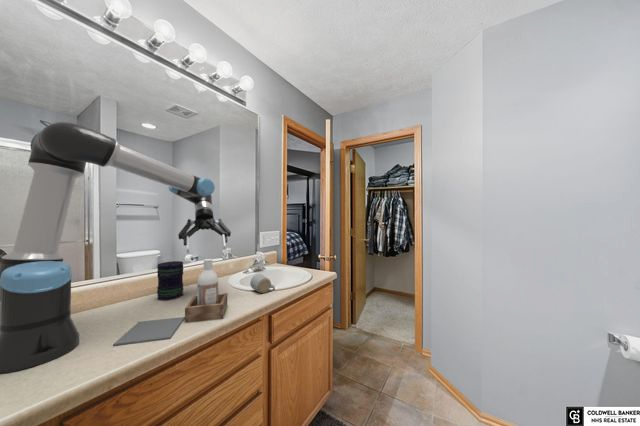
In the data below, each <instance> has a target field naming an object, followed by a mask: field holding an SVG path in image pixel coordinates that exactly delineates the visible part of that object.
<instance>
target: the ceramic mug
mask: <svg viewBox="0 0 640 426" xmlns="http://www.w3.org/2000/svg"><path fill="white" fill-rule="evenodd" d="M249 285H250V287H251V288H252V290H254V289H255V290H254V291H256V292H258V293H260V294H265V293H267V292H268V291H270V289H269V288H273V289H272V290H274V289H275V287H276V286H275V285H273V284H272V283H271V280H270V279H269V278H268V277H267V276H265V275H263V274H261V273H257V274H255V275H253V276H252V278H251V279H250V284H249Z"/></svg>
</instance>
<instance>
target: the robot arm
mask: <svg viewBox="0 0 640 426" xmlns="http://www.w3.org/2000/svg"><path fill="white" fill-rule="evenodd" d="M30 151H31V152H30V155H29V158H28V163H27V165H28V166H29V167H30V168H31V169H32V170H33V176H32V179H31V183H30V186H29V189H28V194H27V197H26V201H25V204H24V209H23V213H22V217H21V220H20V224H19V227H18V231H17V234H16V238H15V241H14V245H13V249H12V251H11V252H9V253H7V254H5V255H3V256H2V257H1V260H0V374H4V373H12V372H16V371H20V370H21V371H22V370H25V369H28V368H32V367H34V366H35V367H36V366H39V365H43V364H45V363H47V362H49V361H52V360H55V359H57V358H60V357H61V356H64V355H66V354H68V353H70V352H71V351H72V350H74V349H75V348H76V347H78V346H79V344H80V333H79V331H78V330H77V327H76V324H75V322H74V321H73V319H72V316H71V314H72V313H71V312H72V309H71V308H72V307H71V306H72V303H71V300H72V277H73V272H72V267H71V266H70V263H67V262H64V256H63V255H61V253H59V249H60V245H61V241H62V236H63V232H64V228H65V223H66V218H67V216H68V211H69V207H70V202H71V200H72V199H71V198H72V195H73V191H74V187H75V182H76V179H78V178H81V177H83V176H84V173H85V171H86V170H85V169H86V165H87V164H92V165H97V166H100V167H103V168H105V167H113V168H115V169H118V170H121V171H124V172H126V173H129V174H133V175H136V176H139V177H142V178H144V179H148V180H150V181H154V182H155V183H156V182H157V183H160V184H162V185H165V186H168V190H169V192H171V193H173V194H174V195H175V196H178V197H180V198H182V199H184V200H186V201H188V202H190V203H192V204H193V205H194V213H195V214H194V215H195V217H194V218H195V220H192V219H191V218H188V219H187V221H186V224H185V225H184V226H183V228H181V230H180V231H179V233H178V240H183V246H185V247H186V254H189V253H190V238H191V237H192V236H193V235H194V234H195V233H196V232H199V231H200V230H202V231H203V230H211V231H214V232H215V233H217V234H218V235H220V236H221V241H222V242H221V243H222V248H223V249H222V250H223V251H226V247H227V243H228V239H229V238H228V237H231V233H232V231H231V230H230V229H229V228H228V227H227V226H226V224H225V223H224V222H222V219H221V218H218V219H217V220H215V218H214V210H213V201H212V200H213V199H212V198H213V197H212V194H213V193H214V192H215V188H216V186H215V183H214V182H213V181H212V179H211V178H208V177H207V178H206V177H198V176H196V175H193V174H190V173H188V172H185V171H183V170H181V169H179V168H177V167H174V166H171V165H169V164H167V163H164V162H162V161H160V160H157V159H155V158H152V157H150V156H148V155H145V154H142V153H141V152H138V151H135V150H133V149H131V148H128V147H126V146H124V145H121V144H120V143H119V142H118V140H117V139H115V138H113V137H111V136H108V135H106V134H104V133H102V132H99V131H96V130H94V129H92V128H89V127H86V126H83V125H80V124H78V123H75V122H74V123H73V122H69V121H68V122H66V121H65V122H64V121H60V122H54V123H50V124H48V125H46V126H45V127H44V128H42V130H41V131H40V132H37V133H36V134H35V135H34V136H33V138H32V139H31V141H30ZM192 226H193V227H192Z"/></svg>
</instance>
